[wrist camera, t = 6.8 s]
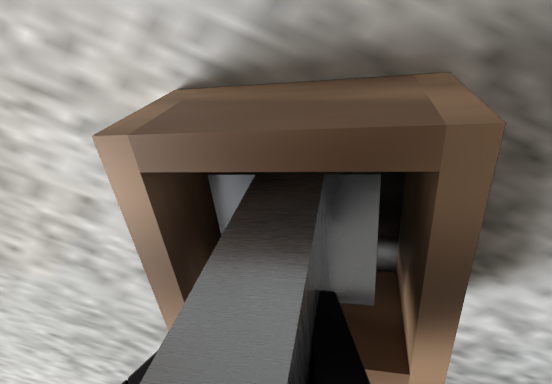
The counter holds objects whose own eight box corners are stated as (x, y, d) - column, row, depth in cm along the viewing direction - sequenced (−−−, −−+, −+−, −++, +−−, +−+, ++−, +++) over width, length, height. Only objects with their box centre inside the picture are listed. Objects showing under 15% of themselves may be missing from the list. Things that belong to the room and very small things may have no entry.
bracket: (372, 280, 13) (391, 636, 6) (243, 271, 14) (128, 559, 7) (378, 156, 10) (424, 516, 3) (220, 158, 11) (3, 426, 4)
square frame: (419, 291, 14) (440, 398, 11) (221, 276, 17) (181, 362, 13) (450, 72, 10) (505, 122, 6) (174, 89, 12) (91, 136, 8)
